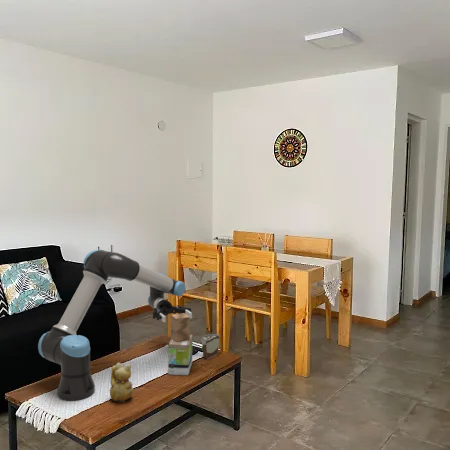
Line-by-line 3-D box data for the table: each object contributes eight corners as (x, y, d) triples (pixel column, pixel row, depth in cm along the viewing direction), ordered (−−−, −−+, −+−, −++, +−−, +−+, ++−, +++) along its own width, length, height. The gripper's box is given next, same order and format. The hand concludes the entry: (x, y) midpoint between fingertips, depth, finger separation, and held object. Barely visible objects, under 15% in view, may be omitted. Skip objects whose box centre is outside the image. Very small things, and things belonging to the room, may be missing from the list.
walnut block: (175, 342, 218) (175, 318, 217) (170, 337, 224) (170, 314, 223) (189, 340, 221) (189, 316, 220) (184, 335, 227) (184, 312, 226)
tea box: (189, 375, 217) (189, 344, 215) (167, 375, 217) (167, 344, 215) (192, 362, 232) (192, 333, 230) (172, 362, 232) (172, 333, 230)
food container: (210, 350, 248) (210, 332, 247) (219, 353, 244) (220, 334, 243) (195, 357, 238) (195, 338, 237) (205, 360, 234) (205, 341, 233)
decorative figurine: (135, 395, 196) (134, 361, 195) (129, 405, 188) (129, 369, 187) (112, 394, 197) (112, 360, 196) (106, 404, 189) (105, 368, 187)
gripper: (185, 310, 250) (201, 321, 231) (140, 316, 239) (153, 329, 220) (185, 296, 249) (201, 306, 231) (139, 302, 238) (153, 313, 219)
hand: (178, 317), depth 225 cm, fingers open, 13 cm apart
